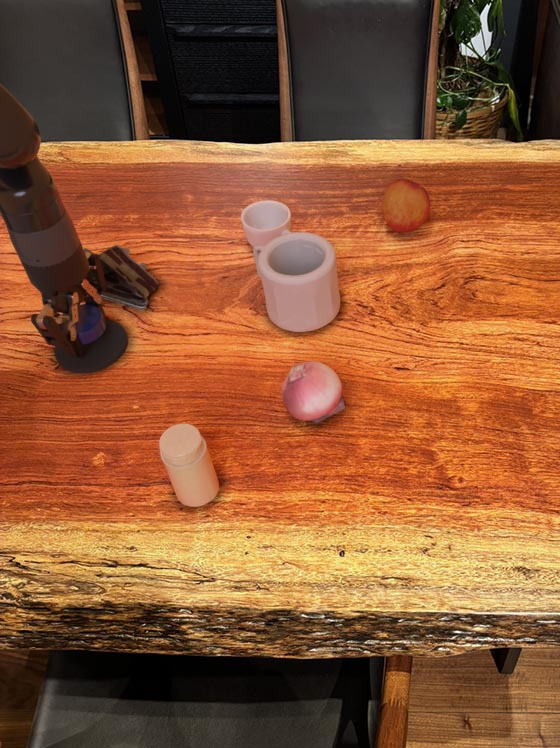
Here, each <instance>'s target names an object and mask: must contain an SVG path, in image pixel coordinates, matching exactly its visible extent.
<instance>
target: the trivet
mask: <svg viewBox="0 0 560 748" xmlns="http://www.w3.org/2000/svg"><path fill="white" fill-rule="evenodd" d="M106 320H107V322H106V328H105V331H104V333H103V334H102V335H101V336H100V337H99V338H98V339H96V340H95V341H93V342H90V343H87V344H82V346H83V349H84V351H85V355H84V357H83V358H77V357H71V356H68V355H67V353H66V351H65V349H64V347H60V346H55V345H54V350H53V351H54V352H53V353H54V357H55V359H56V361H57V363H58V365H59V366H60V367H61V368H62V369H63V370H66V371H67V372H70V373H73V374H79V375H82V374H92V373H93V374H94V373H97V372H100V371H103V370H105V369H107V368H109V367H111V366H113V365H114V364H115V363H116V362H118V361H119V360H120V359H121V358H122V357H123V355H125V353H126V351H127V349H128V345H129V337H128V334H127V332H126V330H125V328H124V327H123V325H121V324H120V323H119V322H117V321H114V320H112V319H110V318H109V319H108V318H106Z"/></svg>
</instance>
